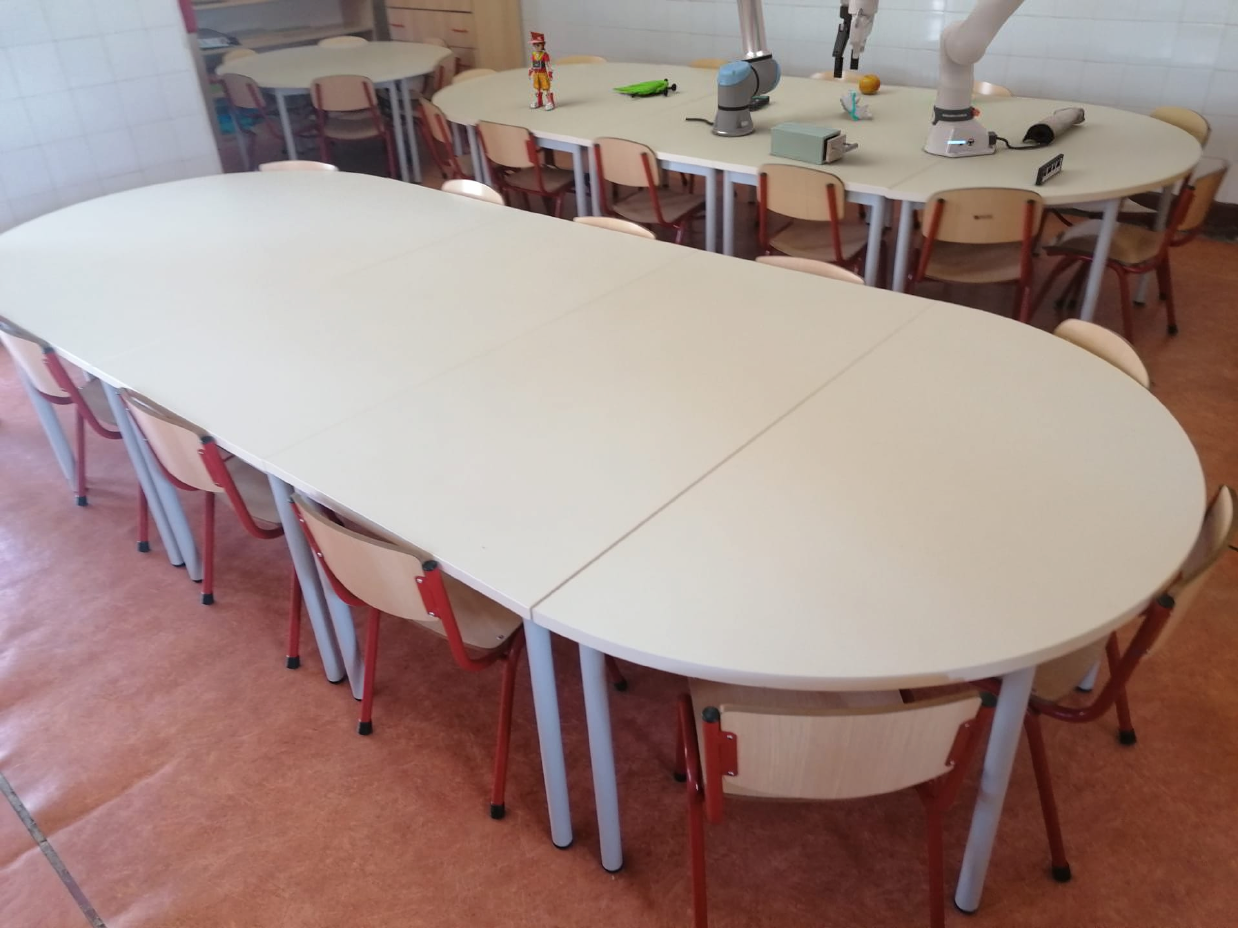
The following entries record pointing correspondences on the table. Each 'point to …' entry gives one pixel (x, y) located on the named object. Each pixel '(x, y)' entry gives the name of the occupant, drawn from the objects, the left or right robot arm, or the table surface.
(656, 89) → the toy
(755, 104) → the disk drive
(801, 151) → the cabinet
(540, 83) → the toy
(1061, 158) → the midi keyboard
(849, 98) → the anatomical model
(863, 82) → the fruit
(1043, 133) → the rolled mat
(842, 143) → the drawer
